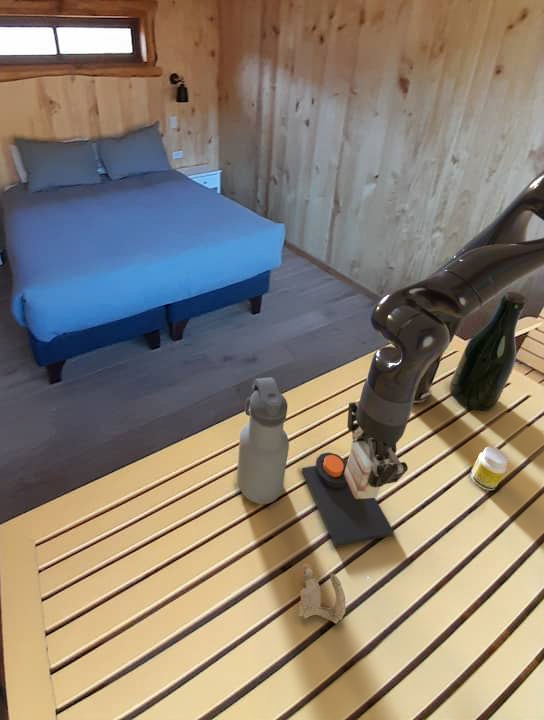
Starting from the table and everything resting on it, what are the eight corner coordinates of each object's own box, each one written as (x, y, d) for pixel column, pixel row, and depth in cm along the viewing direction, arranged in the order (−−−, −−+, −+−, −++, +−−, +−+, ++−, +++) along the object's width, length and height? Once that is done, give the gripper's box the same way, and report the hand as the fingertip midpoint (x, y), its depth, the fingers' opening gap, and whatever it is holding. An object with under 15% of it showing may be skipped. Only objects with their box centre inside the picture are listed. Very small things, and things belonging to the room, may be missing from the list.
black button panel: (298, 465, 90) (300, 457, 89) (347, 457, 92) (350, 448, 91) (334, 547, 76) (337, 539, 74) (392, 535, 78) (395, 526, 76)
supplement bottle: (500, 493, 84) (515, 468, 80) (475, 488, 85) (488, 463, 81) (489, 471, 88) (503, 446, 85) (466, 467, 89) (478, 442, 85)
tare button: (319, 461, 88) (320, 456, 88) (336, 458, 89) (337, 453, 88) (328, 479, 85) (329, 474, 84) (345, 475, 85) (347, 470, 85)
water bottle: (232, 461, 91) (238, 371, 79) (274, 457, 92) (286, 367, 79) (242, 508, 82) (250, 415, 69) (288, 503, 83) (305, 410, 70)
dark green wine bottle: (442, 395, 107) (482, 293, 92) (456, 375, 113) (496, 277, 98) (487, 420, 100) (539, 315, 85) (500, 398, 106) (550, 295, 91)
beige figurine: (275, 587, 69) (307, 548, 67) (297, 577, 73) (327, 541, 71) (310, 648, 63) (346, 608, 60) (331, 634, 67) (366, 596, 64)
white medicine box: (342, 473, 79) (351, 440, 74) (364, 472, 79) (374, 438, 75) (354, 501, 74) (365, 467, 70) (377, 499, 74) (389, 464, 70)
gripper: (436, 439, 61) (409, 504, 68) (379, 370, 73) (362, 431, 81) (391, 447, 60) (368, 513, 67) (341, 375, 72) (327, 437, 80)
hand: (365, 468), depth 74 cm, fingers closed on white medicine box, 5 cm apart
